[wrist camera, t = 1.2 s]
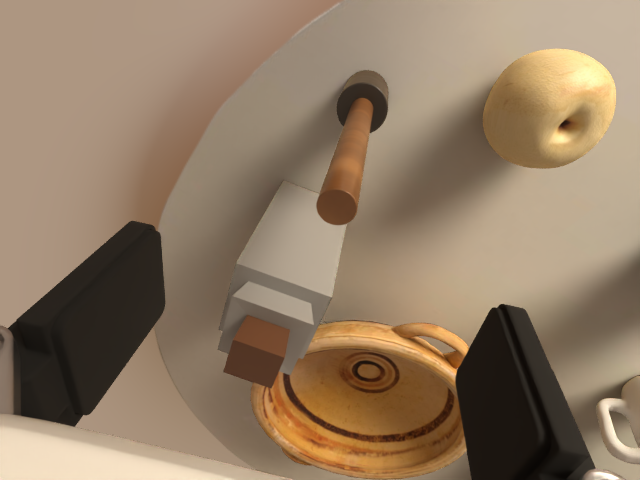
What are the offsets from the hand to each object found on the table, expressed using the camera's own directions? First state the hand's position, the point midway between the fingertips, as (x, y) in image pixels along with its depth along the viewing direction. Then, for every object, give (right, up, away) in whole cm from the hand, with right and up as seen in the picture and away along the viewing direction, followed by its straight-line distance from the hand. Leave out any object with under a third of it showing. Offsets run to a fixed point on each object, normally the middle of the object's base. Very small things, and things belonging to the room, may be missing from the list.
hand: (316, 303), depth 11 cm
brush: (+4, +14, +21) cm, 25 cm away
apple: (+16, +13, +19) cm, 28 cm away
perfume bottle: (-1, +4, +28) cm, 28 cm away
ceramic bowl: (+6, -13, +38) cm, 40 cm away
